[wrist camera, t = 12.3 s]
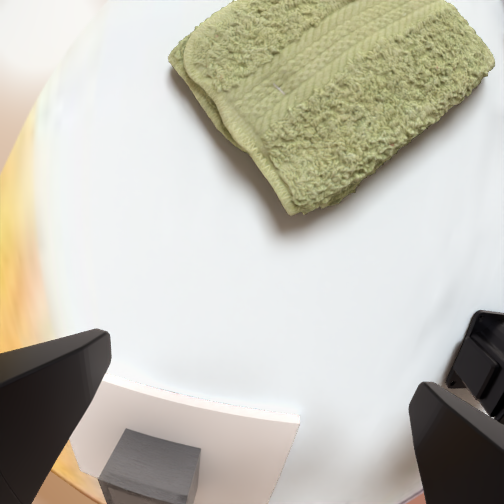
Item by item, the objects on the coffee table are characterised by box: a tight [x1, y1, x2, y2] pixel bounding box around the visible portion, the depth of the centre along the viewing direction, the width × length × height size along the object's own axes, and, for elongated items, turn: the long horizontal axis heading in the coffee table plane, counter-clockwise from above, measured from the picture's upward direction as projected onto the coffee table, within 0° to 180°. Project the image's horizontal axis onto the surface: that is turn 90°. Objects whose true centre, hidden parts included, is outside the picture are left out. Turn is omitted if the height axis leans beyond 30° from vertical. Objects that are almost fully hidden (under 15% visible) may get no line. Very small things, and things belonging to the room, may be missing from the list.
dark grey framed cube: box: [98, 428, 201, 504], centre depth 20 cm, size 6×6×6 cm
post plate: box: [69, 373, 300, 504], centre depth 21 cm, size 20×16×5 cm
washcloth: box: [168, 0, 495, 216], centre depth 14 cm, size 13×18×3 cm
